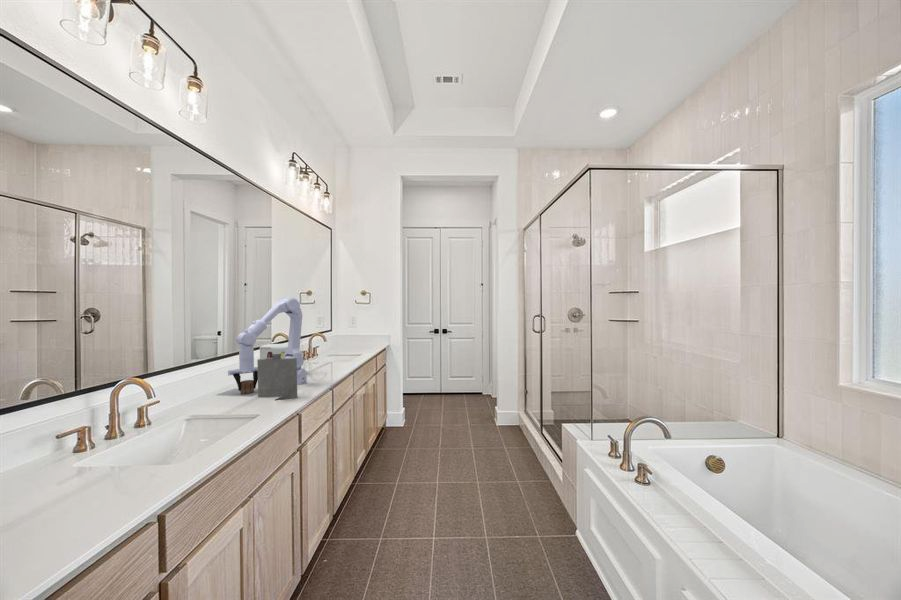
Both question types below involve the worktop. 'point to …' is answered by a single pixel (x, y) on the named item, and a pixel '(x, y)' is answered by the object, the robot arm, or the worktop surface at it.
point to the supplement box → (272, 350)
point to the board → (238, 393)
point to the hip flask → (277, 377)
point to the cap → (247, 386)
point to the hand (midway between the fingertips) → (247, 389)
